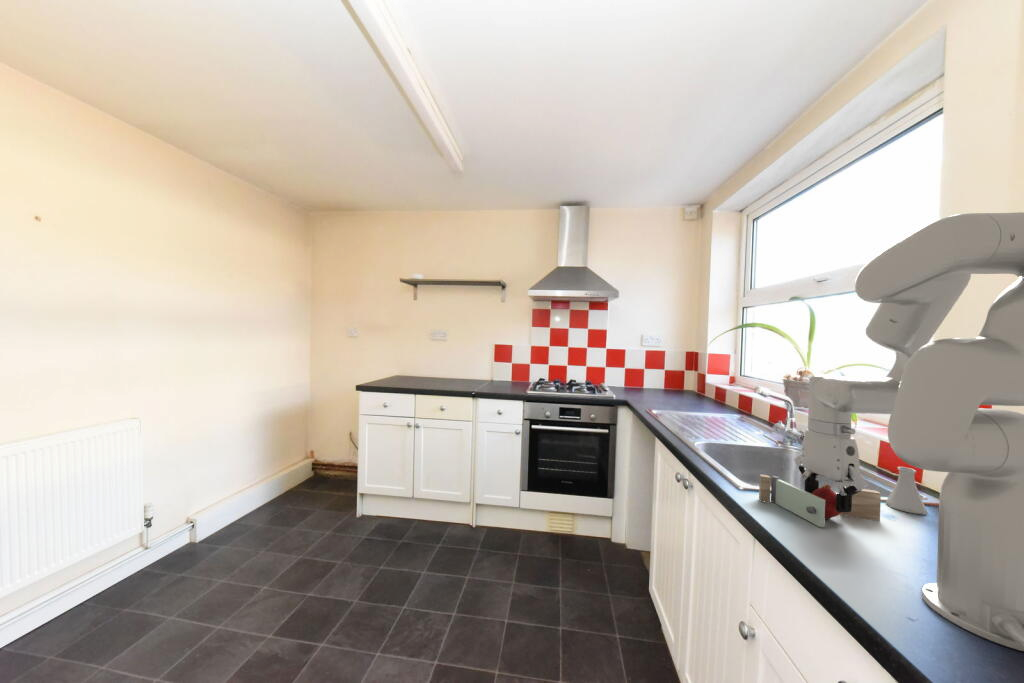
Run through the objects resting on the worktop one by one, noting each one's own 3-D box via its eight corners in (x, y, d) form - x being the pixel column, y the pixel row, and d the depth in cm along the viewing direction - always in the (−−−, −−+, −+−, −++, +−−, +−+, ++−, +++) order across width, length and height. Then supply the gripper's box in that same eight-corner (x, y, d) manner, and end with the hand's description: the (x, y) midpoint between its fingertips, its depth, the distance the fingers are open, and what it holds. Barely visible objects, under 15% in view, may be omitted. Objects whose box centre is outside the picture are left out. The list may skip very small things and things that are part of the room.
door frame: (879, 521, 82) (880, 493, 82) (760, 501, 91) (761, 476, 91) (876, 518, 83) (876, 490, 83) (759, 498, 92) (759, 474, 92)
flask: (932, 518, 84) (933, 476, 84) (888, 509, 88) (889, 469, 88) (922, 507, 89) (923, 468, 89) (881, 499, 94) (882, 461, 94)
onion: (830, 526, 79) (830, 490, 79) (803, 514, 85) (803, 480, 85) (849, 523, 81) (849, 488, 81) (821, 511, 86) (822, 479, 86)
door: (816, 527, 78) (817, 499, 78) (766, 500, 91) (767, 476, 91) (825, 527, 78) (826, 498, 78) (774, 500, 91) (775, 475, 91)
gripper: (886, 438, 74) (884, 522, 74) (807, 419, 91) (805, 487, 92) (855, 438, 73) (853, 524, 73) (781, 419, 90) (779, 488, 91)
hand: (826, 503), depth 82 cm, fingers open, 6 cm apart
